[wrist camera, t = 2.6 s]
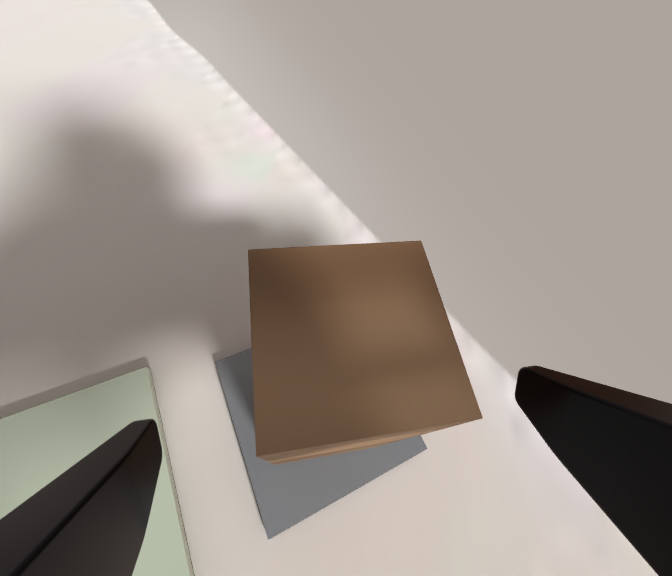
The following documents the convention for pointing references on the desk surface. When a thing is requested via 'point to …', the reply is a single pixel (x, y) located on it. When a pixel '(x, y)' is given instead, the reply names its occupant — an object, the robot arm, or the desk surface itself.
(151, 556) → the sage plate
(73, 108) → the desk surface
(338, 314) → the walnut block
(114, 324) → the desk surface
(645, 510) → the robot arm
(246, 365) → the slate tile
